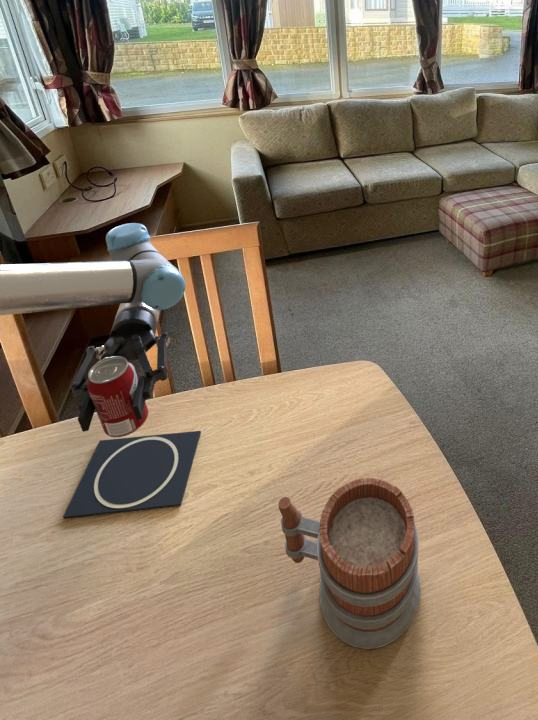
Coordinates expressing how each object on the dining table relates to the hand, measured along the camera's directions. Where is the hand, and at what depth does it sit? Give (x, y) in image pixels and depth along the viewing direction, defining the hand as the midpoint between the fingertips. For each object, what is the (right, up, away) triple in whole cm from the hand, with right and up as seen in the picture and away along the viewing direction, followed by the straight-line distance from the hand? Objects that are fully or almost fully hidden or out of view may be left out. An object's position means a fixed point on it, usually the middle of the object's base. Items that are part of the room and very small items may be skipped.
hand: (110, 418), depth 73 cm
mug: (+37, -21, -5) cm, 43 cm away
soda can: (-1, -4, +7) cm, 8 cm away
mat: (-1, -14, +10) cm, 17 cm away
